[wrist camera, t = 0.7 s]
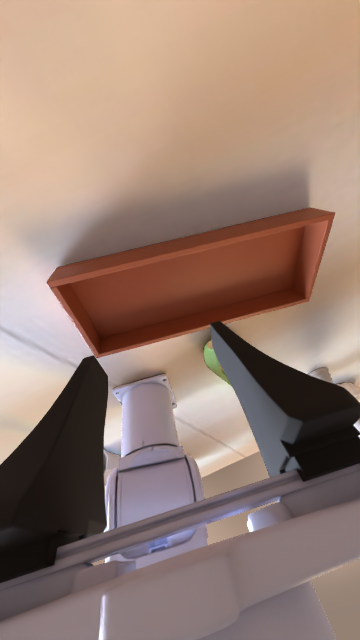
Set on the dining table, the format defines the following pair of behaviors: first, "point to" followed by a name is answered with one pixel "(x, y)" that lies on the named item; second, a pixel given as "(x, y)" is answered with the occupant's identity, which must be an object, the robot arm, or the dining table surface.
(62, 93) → the dining table surface
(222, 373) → the edible corn
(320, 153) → the dining table surface
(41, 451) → the robot arm
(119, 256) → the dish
